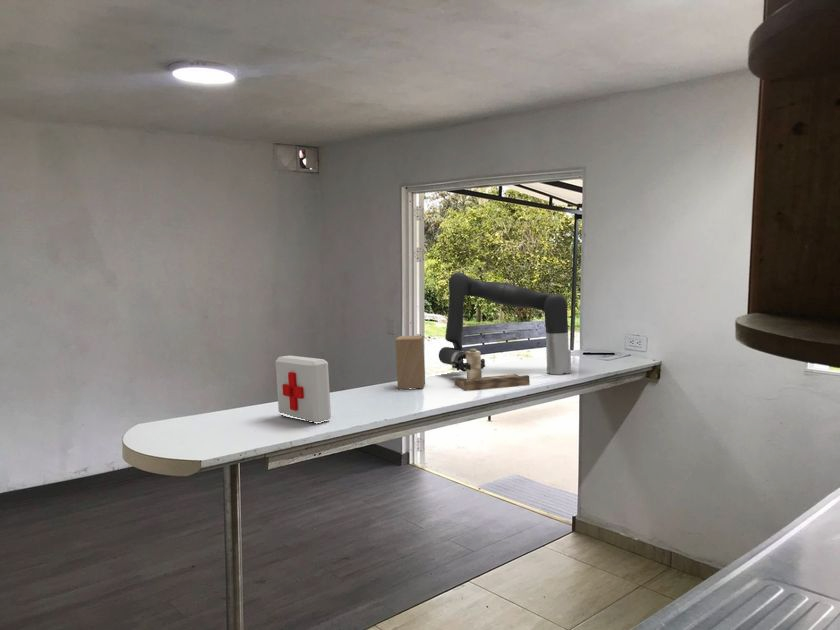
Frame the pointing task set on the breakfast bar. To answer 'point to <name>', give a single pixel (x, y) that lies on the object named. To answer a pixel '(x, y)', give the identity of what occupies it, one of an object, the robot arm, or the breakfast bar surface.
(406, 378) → the wooden block
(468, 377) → the mottled beige cylinder
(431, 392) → the breakfast bar surface
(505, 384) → the board
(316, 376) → the bevelled white case
